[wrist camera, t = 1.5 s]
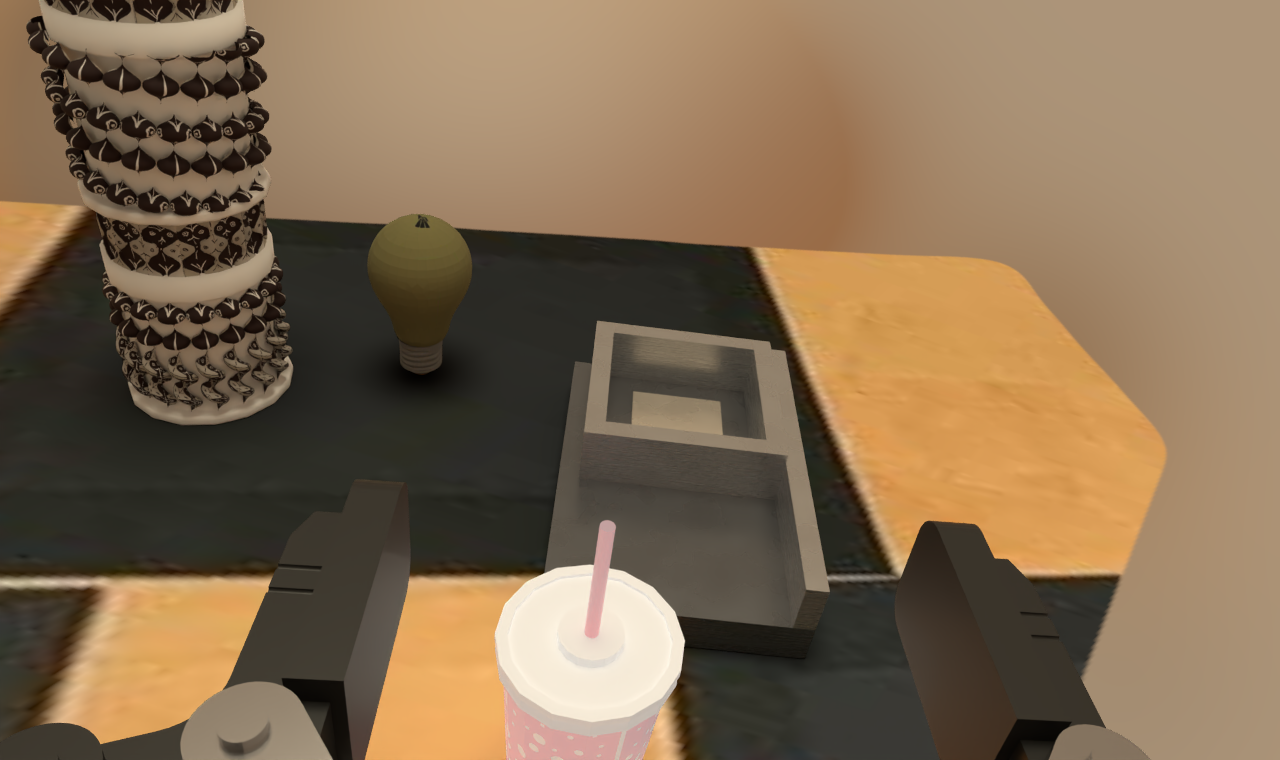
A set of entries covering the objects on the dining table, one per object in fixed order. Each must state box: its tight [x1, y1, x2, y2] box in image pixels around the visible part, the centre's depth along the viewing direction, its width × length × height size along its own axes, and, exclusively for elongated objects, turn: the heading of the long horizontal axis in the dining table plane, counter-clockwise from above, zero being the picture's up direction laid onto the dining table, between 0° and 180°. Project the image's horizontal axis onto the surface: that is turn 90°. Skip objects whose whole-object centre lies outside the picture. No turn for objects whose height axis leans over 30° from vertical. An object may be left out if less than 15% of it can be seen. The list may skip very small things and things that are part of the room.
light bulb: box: [368, 214, 472, 375], centre depth 51 cm, size 6×6×10 cm
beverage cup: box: [495, 520, 685, 760], centre depth 30 cm, size 6×6×14 cm
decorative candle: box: [26, 0, 293, 425], centre depth 44 cm, size 9×9×25 cm
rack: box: [545, 321, 830, 659], centre depth 46 cm, size 12×18×5 cm, turn 179°
